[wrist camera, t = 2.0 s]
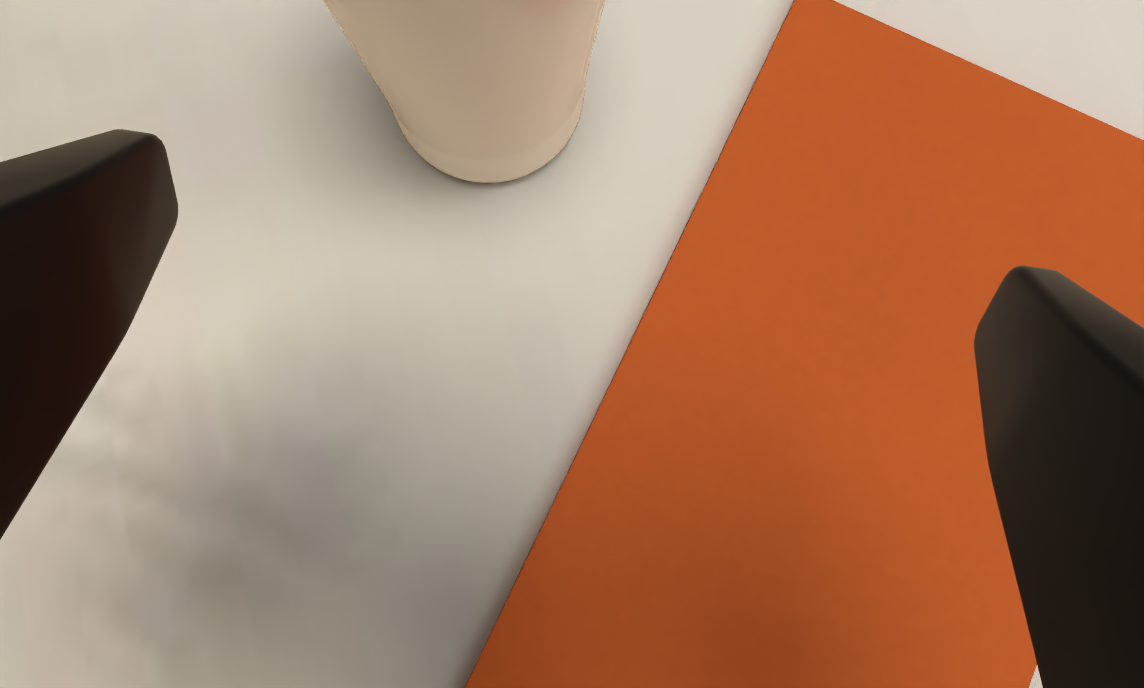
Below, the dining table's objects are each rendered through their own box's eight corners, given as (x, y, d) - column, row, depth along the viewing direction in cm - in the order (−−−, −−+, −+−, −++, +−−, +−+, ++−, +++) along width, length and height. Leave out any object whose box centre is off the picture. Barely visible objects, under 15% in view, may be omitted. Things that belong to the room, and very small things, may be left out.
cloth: (929, 938, 21) (934, 944, 21) (459, 698, 22) (458, 701, 21) (1209, 177, 25) (1218, 173, 24) (798, -9, 25) (801, -15, 25)
